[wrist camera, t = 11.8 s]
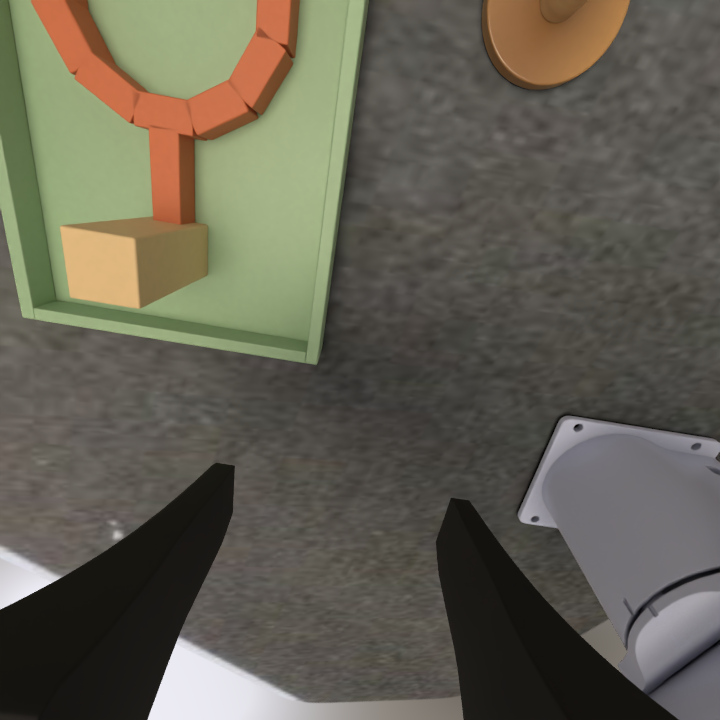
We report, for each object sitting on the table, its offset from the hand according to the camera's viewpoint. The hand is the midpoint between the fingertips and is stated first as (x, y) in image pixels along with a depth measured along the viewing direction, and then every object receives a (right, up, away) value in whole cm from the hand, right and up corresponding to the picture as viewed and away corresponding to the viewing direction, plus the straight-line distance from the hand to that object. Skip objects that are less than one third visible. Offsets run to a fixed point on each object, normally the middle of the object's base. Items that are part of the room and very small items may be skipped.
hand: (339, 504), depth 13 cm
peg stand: (+8, +18, +2) cm, 20 cm away
